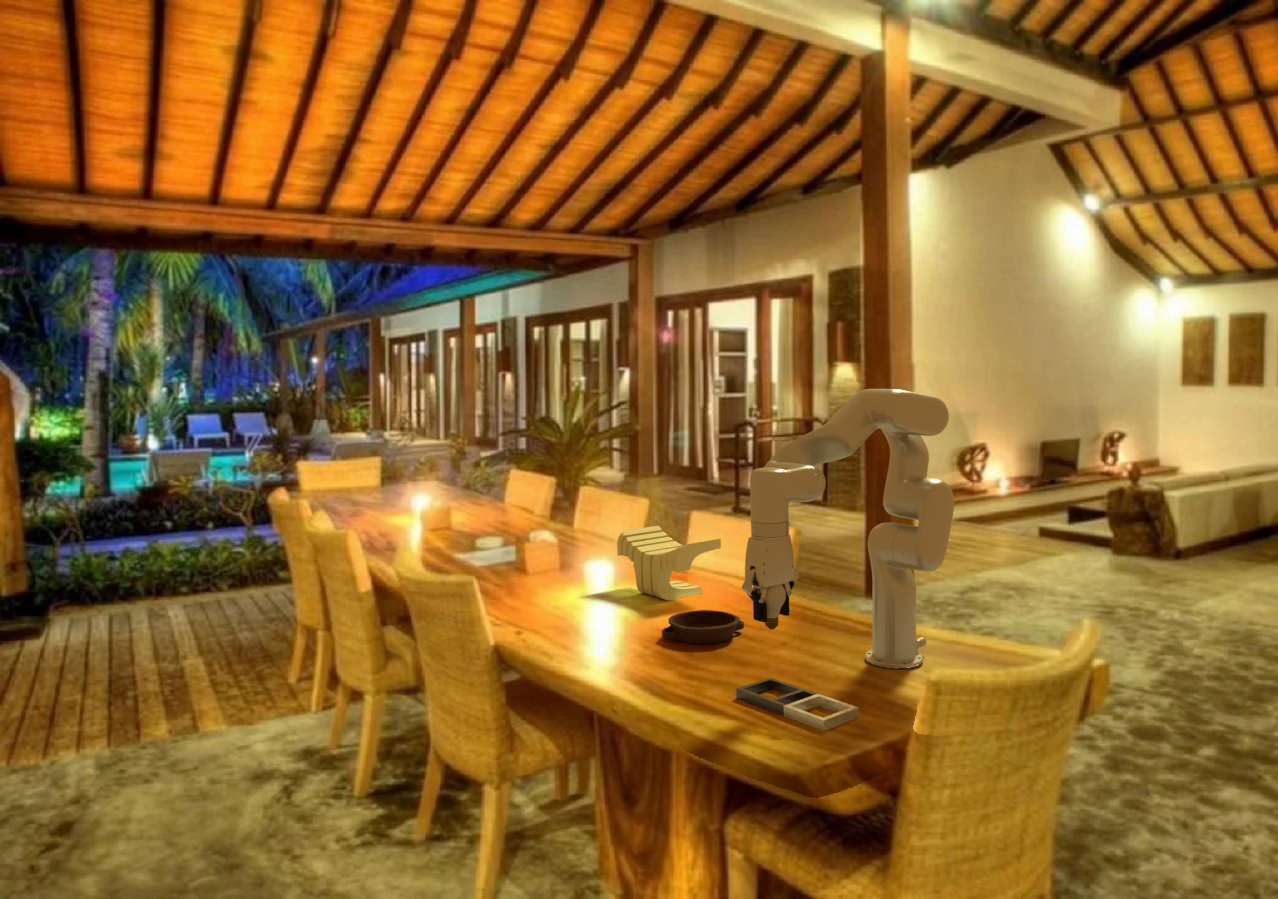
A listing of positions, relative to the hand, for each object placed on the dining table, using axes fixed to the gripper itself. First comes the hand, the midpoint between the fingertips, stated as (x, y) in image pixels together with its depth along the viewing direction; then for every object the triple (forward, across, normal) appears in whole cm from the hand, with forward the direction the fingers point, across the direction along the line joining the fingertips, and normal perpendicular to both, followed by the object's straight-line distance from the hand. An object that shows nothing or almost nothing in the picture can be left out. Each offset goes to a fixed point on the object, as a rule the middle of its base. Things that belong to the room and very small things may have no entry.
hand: (771, 616), depth 186 cm
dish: (+18, -18, -41) cm, 48 cm away
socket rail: (+17, 0, +6) cm, 18 cm away
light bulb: (+3, 0, 0) cm, 3 cm away
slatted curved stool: (+18, -40, -81) cm, 92 cm away
